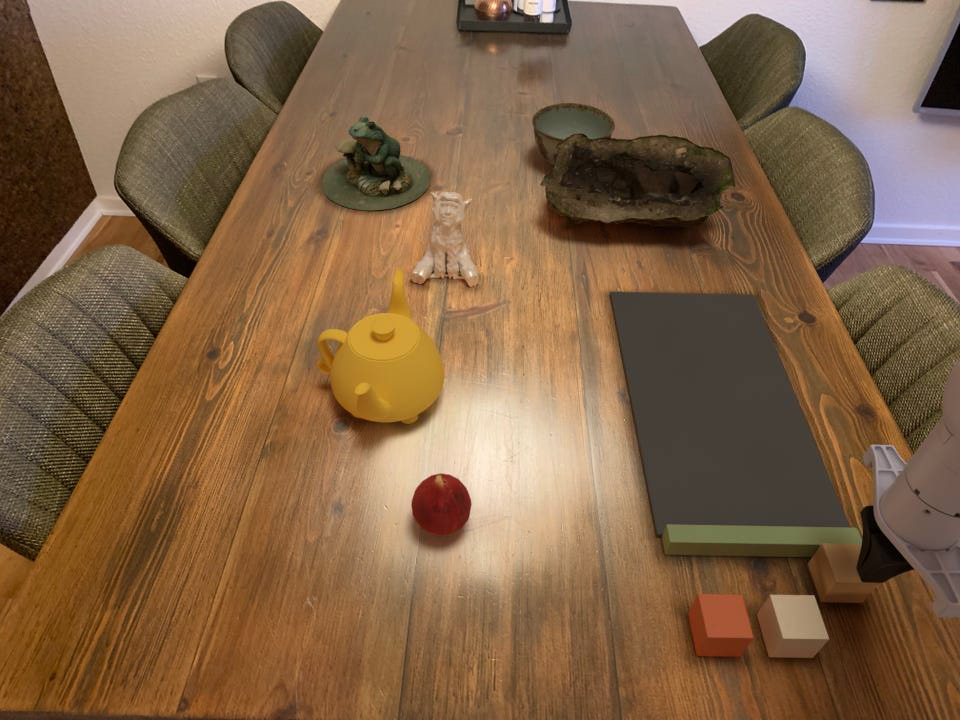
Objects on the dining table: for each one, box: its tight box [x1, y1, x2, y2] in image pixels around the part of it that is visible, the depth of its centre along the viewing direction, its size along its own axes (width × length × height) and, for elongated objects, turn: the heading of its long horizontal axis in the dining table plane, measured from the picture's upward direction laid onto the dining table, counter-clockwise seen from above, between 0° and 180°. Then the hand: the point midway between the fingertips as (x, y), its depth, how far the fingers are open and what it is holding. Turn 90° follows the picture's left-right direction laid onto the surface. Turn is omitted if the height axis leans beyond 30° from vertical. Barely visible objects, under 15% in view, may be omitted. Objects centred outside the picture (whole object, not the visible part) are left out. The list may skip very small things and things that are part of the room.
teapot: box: [316, 268, 445, 425], centre depth 80 cm, size 20×15×12 cm
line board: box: [609, 291, 862, 558], centre depth 84 cm, size 40×20×2 cm, turn 0°
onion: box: [410, 472, 472, 537], centre depth 69 cm, size 6×6×8 cm
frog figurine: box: [320, 115, 431, 211], centre depth 114 cm, size 18×18×12 cm
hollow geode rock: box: [540, 133, 737, 229], centre depth 108 cm, size 28×13×15 cm
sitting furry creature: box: [410, 191, 480, 288], centre depth 98 cm, size 10×9×12 cm
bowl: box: [531, 102, 616, 168], centre depth 120 cm, size 14×13×8 cm
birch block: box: [807, 543, 881, 604], centre depth 67 cm, size 4×4×4 cm
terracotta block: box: [687, 593, 755, 658], centre depth 63 cm, size 4×4×4 cm
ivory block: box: [756, 594, 830, 659], centre depth 63 cm, size 4×4×4 cm
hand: (869, 575), depth 62 cm, fingers closed
